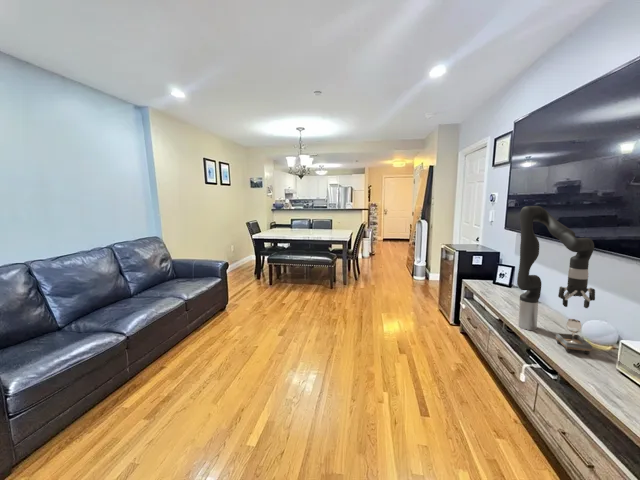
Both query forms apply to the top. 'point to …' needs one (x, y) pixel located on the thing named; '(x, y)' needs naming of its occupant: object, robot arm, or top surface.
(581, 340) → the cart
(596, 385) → the top surface
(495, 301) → the top surface
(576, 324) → the wineglass
